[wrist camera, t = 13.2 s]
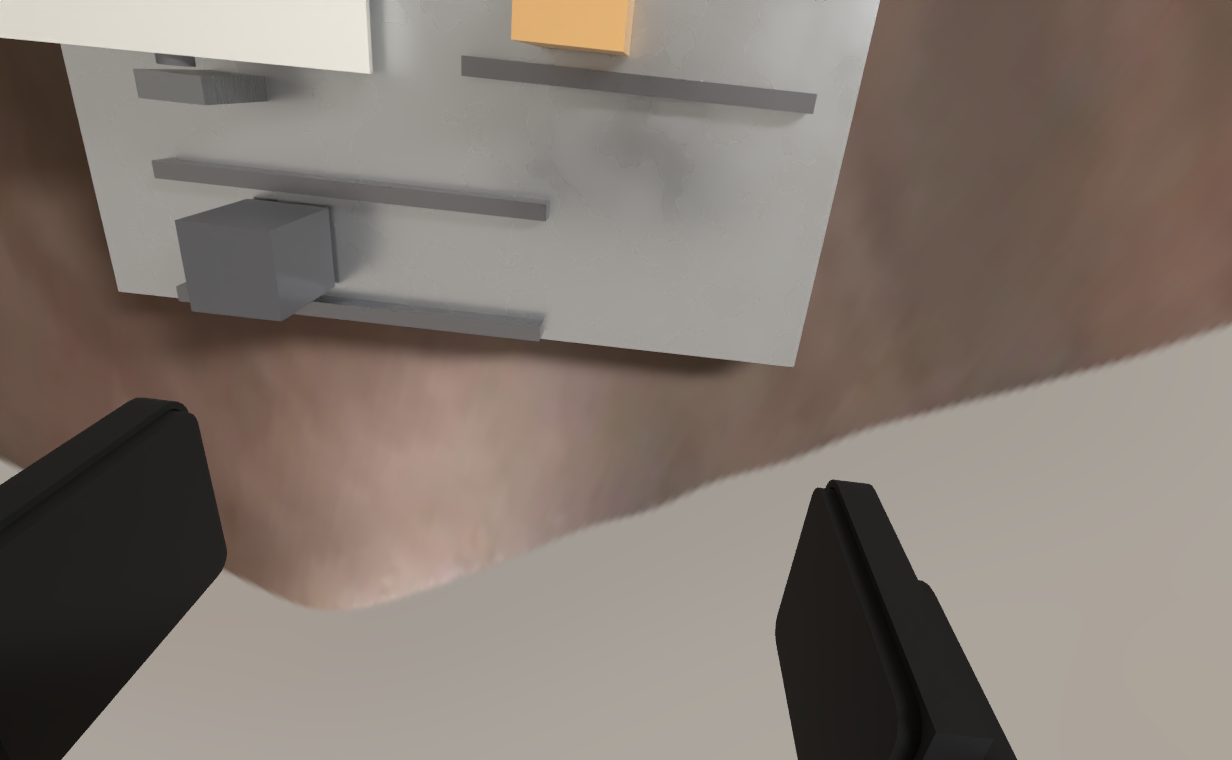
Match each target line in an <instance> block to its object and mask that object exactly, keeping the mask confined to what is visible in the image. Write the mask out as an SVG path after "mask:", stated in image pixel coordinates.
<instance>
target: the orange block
mask: <svg viewBox="0 0 1232 760" xmlns="http://www.w3.org/2000/svg"><path fill="white" fill-rule="evenodd" d="M634 2H635V0H512V25H511V40H515V41H518V42H522V43H526V44H530V45H534V46H537V47H546V48H555V49H564V50H573V51H582V52H592V53H601V54H610V55H619V56H628V57H629V54H630V44H631V34H632V23H633V13H634Z"/></svg>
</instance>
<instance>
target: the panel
mask: <svg viewBox="0 0 1232 760" xmlns="http://www.w3.org/2000/svg"><path fill="white" fill-rule="evenodd" d="M879 2H880V0H635V2H634V13H633V23H632V34H631V44H630V54H629V57H628V56H619V55H610V54H601V53H592V52H582V51H573V50H564V49H555V48H546V47H537V46H534V45H530V44H526V43H522V42H518V41H515V40H511V25H512V0H369V10H370V29H371V47H372V65H373V73H371V74H366V73H356V72H346V71H336V70H325V69H315V68H305V67H295V66H285V65H274V64H264V63H254V62H244V61H234V60H223V59H213V58H203V57H195V63H196V67H186V66H173V65H163V64H157V63H156V59H155V53H152V52H142V51H132V50H122V49H111V48H101V47H91V46H81V45H71V44H60V45H61V49H62V53H63V57H64V62H65V66H66V70H67V74H68V79H69V83H70V87H71V91H72V96H73V100H74V104H75V108H76V113H77V117H78V121H79V125H80V130H81V134H82V138H83V142H84V147H85V151H86V155H87V159H88V164H89V168H90V172H91V176H92V181H93V185H94V189H95V193H96V198H97V202H98V206H99V210H100V215H101V219H102V223H103V227H104V232H105V236H106V240H107V244H108V249H109V253H110V257H111V261H112V265H113V270H114V274H115V278H116V282H117V287H118V291H119V292H128V293H137V294H146V295H154V296H163V297H172V298H178V299H179V301H181V302H190V300H189V294H188V289H187V284H186V279H185V273H184V268H183V263H182V257H181V252H180V247H179V241H178V236H177V231H176V225H175V220H177V219H181V218H184V217H187V216H191V215H194V214H197V213H201V212H204V211H208V210H211V209H214V208H218V207H221V206H224V205H228V204H231V203H234V202H238V201H241V200H244V199H255V200H264V201H273V202H282V203H291V204H300V205H309V206H318V207H327V208H328V209H329V221H330V232H331V244H332V255H333V266H334V278H335V287H333V288H332V289H330V290H329V291H327V292H326V293H324V294H323V295H321V296H320V297H318V298H317V299H315V300H314V301H312V302H311V303H309V304H307V305H306V306H304V307H303V308H301V309H300V310H298V311H297V312H295V313H294V314H297V315H306V316H314V317H323V318H332V319H341V320H350V321H359V322H368V323H377V324H386V325H395V326H404V327H413V328H422V329H430V330H439V331H448V332H457V333H466V334H475V335H484V336H493V337H502V338H511V339H520V340H529V341H538V342H540V339H547V340H556V341H565V342H574V343H583V344H592V345H601V346H610V347H619V348H628V349H636V350H645V351H654V352H663V353H672V354H681V355H690V356H699V357H708V358H717V359H726V360H735V361H744V362H752V363H761V364H770V365H779V366H788V367H794V364H795V359H796V355H797V351H798V347H799V342H800V338H801V334H802V330H803V325H804V321H805V317H806V313H807V308H808V304H809V300H810V296H811V291H812V287H813V283H814V279H815V274H816V270H817V266H818V262H819V257H820V253H821V249H822V245H823V240H824V236H825V232H826V228H827V223H828V219H829V215H830V211H831V206H832V202H833V198H834V194H835V189H836V185H837V181H838V177H839V172H840V168H841V164H842V160H843V155H844V151H845V147H846V143H847V138H848V134H849V130H850V126H851V121H852V117H853V113H854V109H855V104H856V100H857V96H858V92H859V87H860V83H861V79H862V75H863V70H864V66H865V62H866V58H867V53H868V49H869V45H870V41H871V36H872V32H873V28H874V24H875V19H876V15H877V11H878V7H879Z"/></svg>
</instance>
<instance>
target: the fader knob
mask: <svg viewBox="0 0 1232 760" xmlns="http://www.w3.org/2000/svg"><path fill="white" fill-rule="evenodd" d="M175 225H176V231H177V236H178V241H179V247H180V252H181V257H182V263H183V268H184V273H185V279H186V284H187V289H188V294H189V300H190V305H191V310H192V311H193V312H201V313H210V314H219V315H228V316H237V317H246V318H255V319H264V320H273V321H283V320H285V319H286V318H288V317H289V316H291V315H292V314H294V313H295V312H297V311H298V310H300V309H301V308H303V307H304V306H306V305H307V304H309V303H311V302H312V301H314V300H315V299H317V298H318V297H320V296H321V295H323V294H324V293H326V292H327V291H329V290H330V289H332V288H333V287H335V278H334V266H333V255H332V244H331V232H330V221H329V209H328V208H327V207H318V206H309V205H300V204H291V203H282V202H273V201H264V200H255V199H244V200H241V201H238V202H234V203H231V204H228V205H224V206H221V207H218V208H214V209H211V210H208V211H204V212H201V213H197V214H194V215H191V216H187V217H184V218H181V219H177V220H175Z"/></svg>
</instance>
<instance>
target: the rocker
mask: <svg viewBox="0 0 1232 760" xmlns="http://www.w3.org/2000/svg"><path fill="white" fill-rule="evenodd" d="M0 38H9V39H20V40H30V41H40V42H50V43H60V44H71V45H81V46H91V47H101V48H111V49H122V50H132V51H142V52H152V53H155V59H156V63H157V64H163V65H173V66H186V67H196V63H195V57H203V58H213V59H223V60H234V61H244V62H254V63H264V64H274V65H285V66H295V67H305V68H315V69H325V70H336V71H346V72H356V73H366V74H371V73H373V65H372V47H371V29H370V10H369V0H0Z"/></svg>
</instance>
